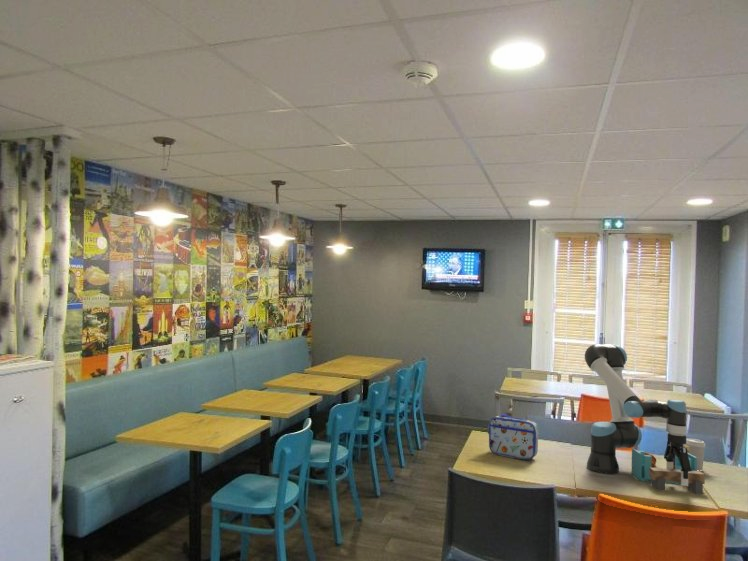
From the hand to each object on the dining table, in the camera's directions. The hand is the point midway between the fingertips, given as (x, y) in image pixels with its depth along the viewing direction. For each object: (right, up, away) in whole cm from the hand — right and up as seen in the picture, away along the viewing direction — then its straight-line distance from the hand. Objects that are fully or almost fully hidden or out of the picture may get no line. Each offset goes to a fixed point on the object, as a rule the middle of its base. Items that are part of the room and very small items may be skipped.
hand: (677, 480), depth 227 cm
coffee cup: (+30, -8, +33) cm, 45 cm away
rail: (0, 0, 0) cm, 0 cm away
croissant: (+7, -7, +38) cm, 40 cm away
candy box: (+14, -6, +22) cm, 27 cm away
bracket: (+1, -5, +13) cm, 14 cm away
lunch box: (-65, -4, +43) cm, 78 cm away
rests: (0, -4, 0) cm, 4 cm away
